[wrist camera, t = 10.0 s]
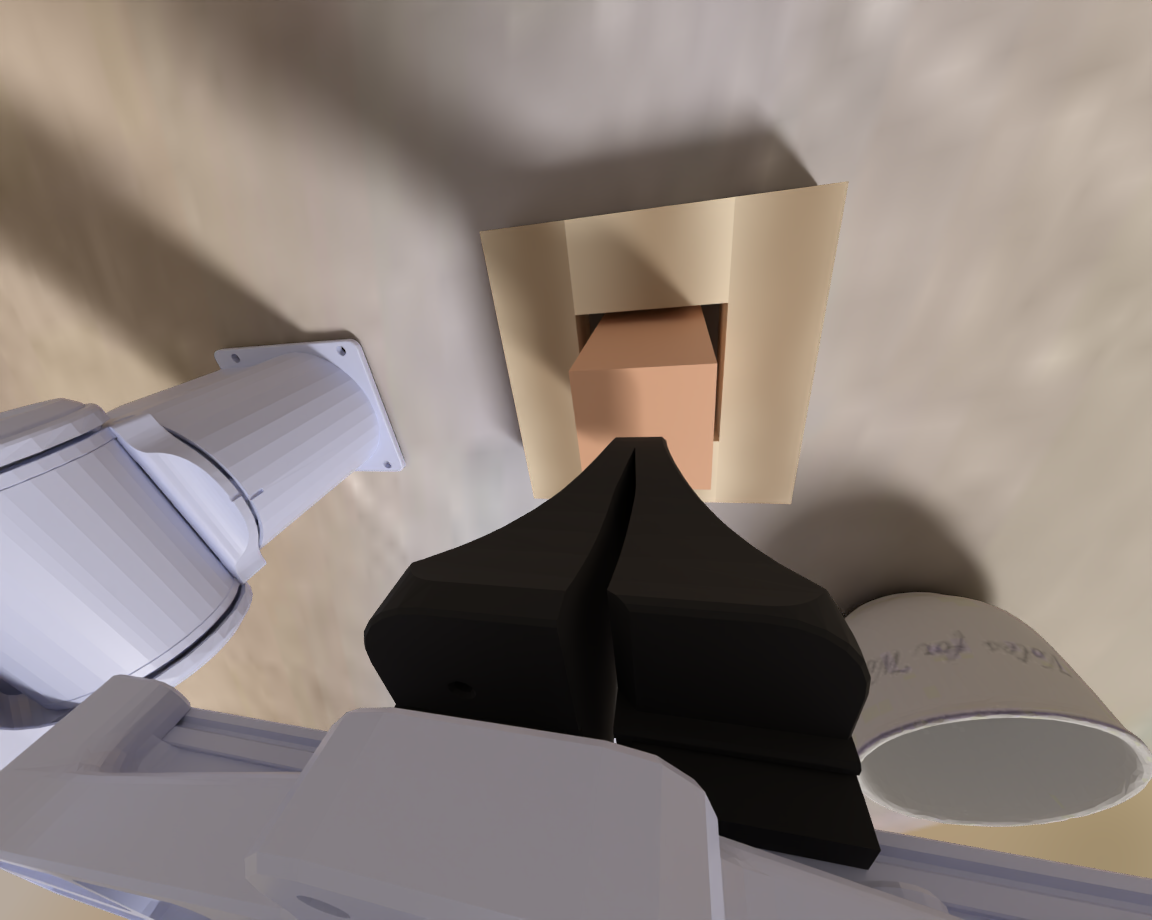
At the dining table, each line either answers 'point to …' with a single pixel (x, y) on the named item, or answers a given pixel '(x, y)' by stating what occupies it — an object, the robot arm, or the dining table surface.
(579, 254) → the birch socket block
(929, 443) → the dining table surface
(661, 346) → the terracotta peg
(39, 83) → the dining table surface
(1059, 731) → the teacup
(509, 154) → the dining table surface
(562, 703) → the robot arm
